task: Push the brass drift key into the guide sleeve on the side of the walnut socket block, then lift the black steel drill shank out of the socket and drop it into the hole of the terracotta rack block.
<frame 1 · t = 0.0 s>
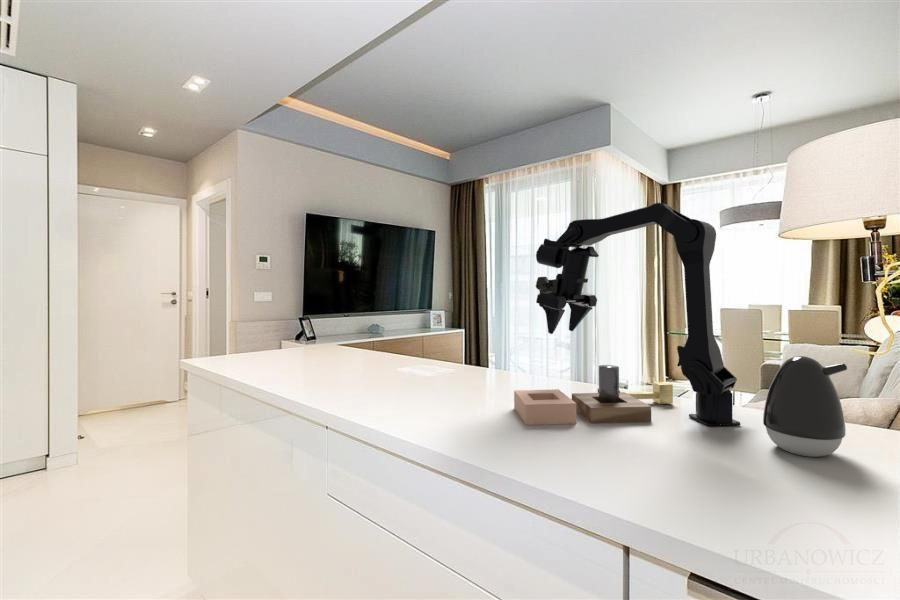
hand: (560, 332, 110), 15 cm above the counter, tool pointing down, fingers open, 9 cm apart
drill shank: (608, 390, 91), in the socket block
pump dispenser: (803, 452, 69), on the counter
rack block: (543, 415, 91), on the counter
socket block: (609, 413, 91), on the counter
drift key: (645, 393, 99), point 2 cm above the counter, slide at 0.0 cm
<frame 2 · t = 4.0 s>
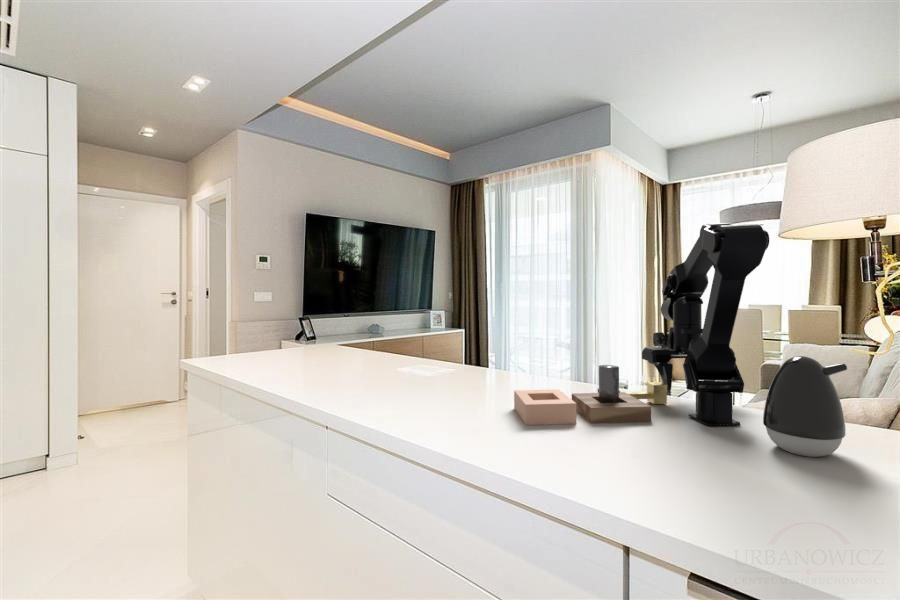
hand: (687, 391, 99), 2 cm above the counter, tool pointing down, fingers open, 9 cm apart
drift key: (639, 393, 99), point 2 cm above the counter, slide at 1.4 cm, touching gripper
everything else where it was.
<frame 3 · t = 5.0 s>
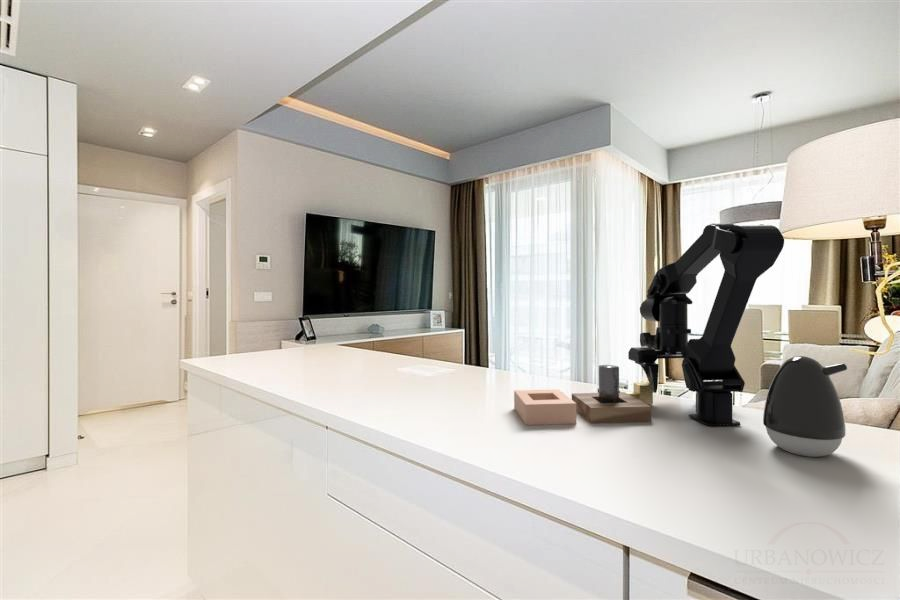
hand: (673, 391, 99), 2 cm above the counter, tool pointing down, fingers open, 9 cm apart
drift key: (625, 393, 99), point 2 cm above the counter, slide at 4.6 cm, touching gripper
everything else where it was.
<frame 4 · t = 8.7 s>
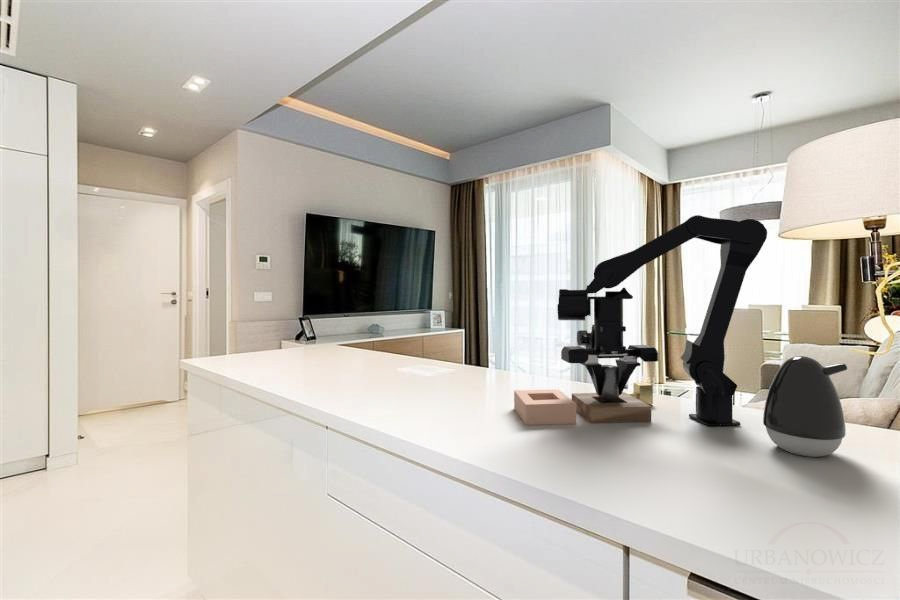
hand: (608, 394, 91), 4 cm above the counter, tool pointing down, fingers closed on drill shank, 4 cm apart
drill shank: (608, 390, 91), in the socket block, touching gripper
drift key: (625, 393, 99), point 2 cm above the counter, slide at 4.6 cm
everything else where it was.
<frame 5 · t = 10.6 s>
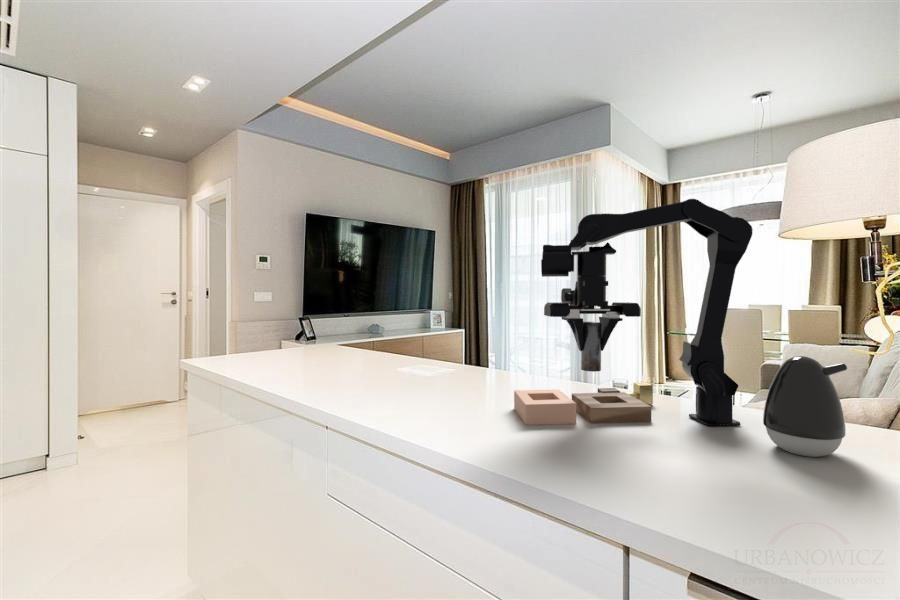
hand: (590, 350, 91), 13 cm above the counter, tool pointing down, fingers closed on drill shank, 4 cm apart
drill shank: (591, 346, 91), point 14 cm above the counter, touching gripper
everything else where it was.
when the fingers open (5 cm above the counter, at t = 12.9 s): drill shank drops 1 cm, resting in rack block.
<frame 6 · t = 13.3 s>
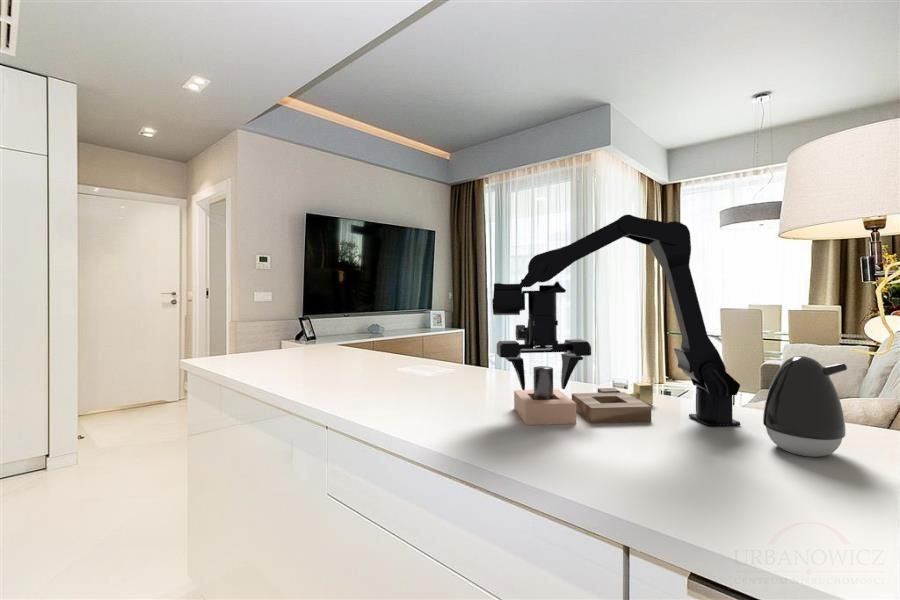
hand: (543, 389, 90), 5 cm above the counter, tool pointing down, fingers open, 8 cm apart
drill shank: (543, 391, 90), in the rack block
everything else where it was.
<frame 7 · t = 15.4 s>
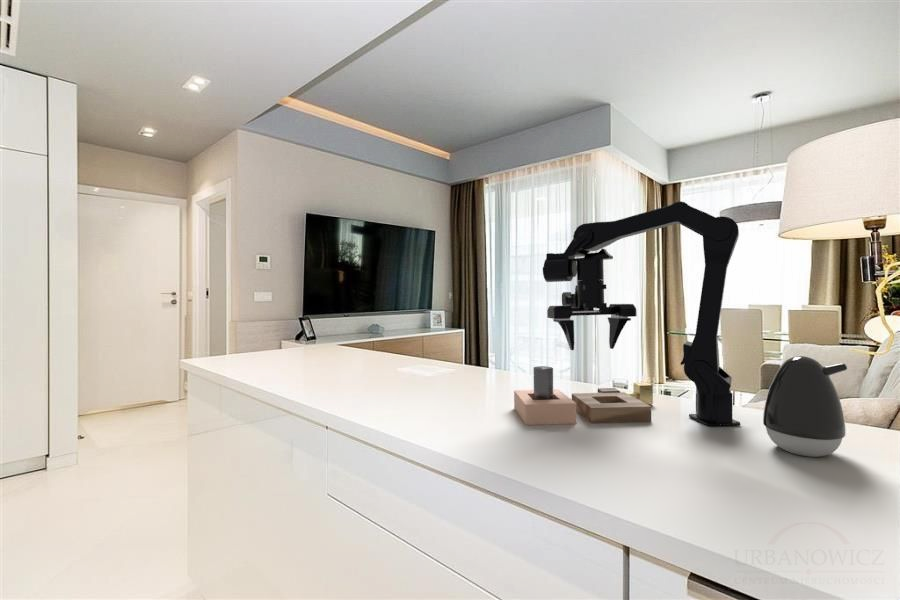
hand: (591, 349, 98), 13 cm above the counter, tool pointing down, fingers open, 9 cm apart
nothing on the counter moved.
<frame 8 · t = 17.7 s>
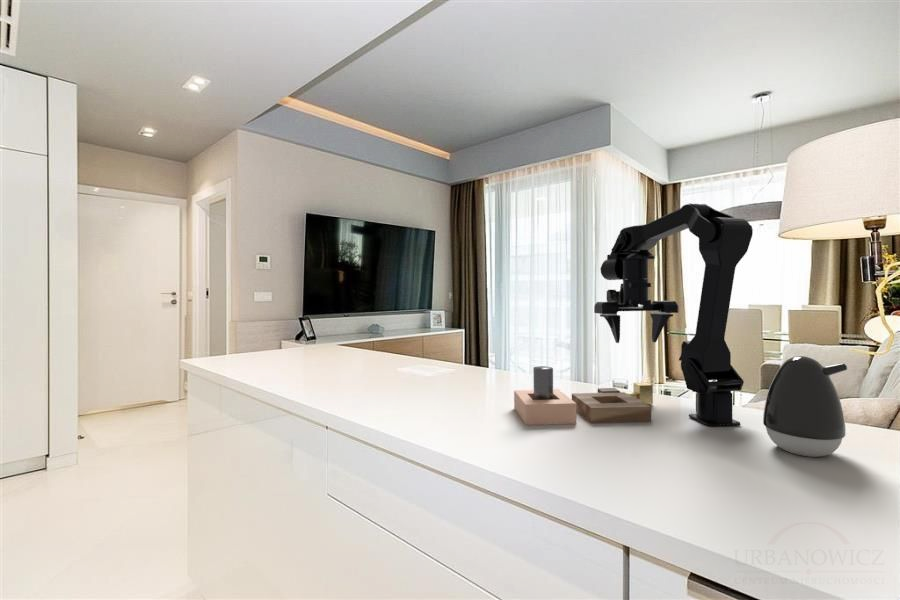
hand: (635, 342, 106), 13 cm above the counter, tool pointing down, fingers open, 9 cm apart
nothing on the counter moved.
at the end: drift key slide at 4.6 cm; drill shank 0.1 cm off-centre on the rack block, point 5.0 cm above the rack block's base; drill shank tilted 0° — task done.
